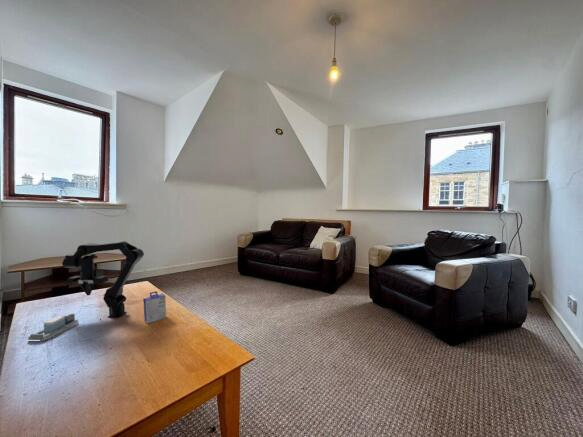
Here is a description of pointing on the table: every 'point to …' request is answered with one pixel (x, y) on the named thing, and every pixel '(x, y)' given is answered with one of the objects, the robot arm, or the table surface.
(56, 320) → the block
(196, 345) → the table surface
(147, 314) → the ink cartridge box
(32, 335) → the din rail
